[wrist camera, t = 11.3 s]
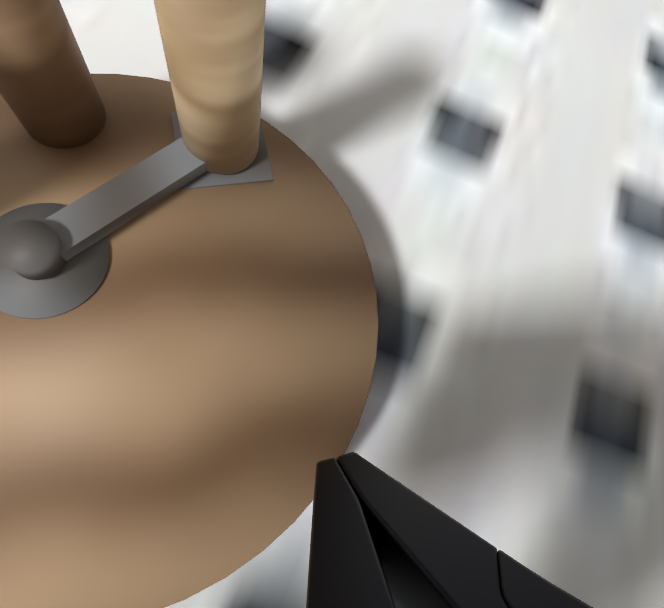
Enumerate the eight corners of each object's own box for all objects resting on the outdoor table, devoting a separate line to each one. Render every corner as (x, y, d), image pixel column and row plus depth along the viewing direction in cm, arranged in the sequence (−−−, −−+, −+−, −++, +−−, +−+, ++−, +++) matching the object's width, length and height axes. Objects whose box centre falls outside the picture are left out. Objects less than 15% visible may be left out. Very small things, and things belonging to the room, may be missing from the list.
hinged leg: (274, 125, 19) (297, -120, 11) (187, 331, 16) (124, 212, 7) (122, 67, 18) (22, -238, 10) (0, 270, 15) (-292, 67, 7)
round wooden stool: (414, 511, 18) (653, 612, 8) (-194, 696, 13) (-1904, 1699, 3) (309, 102, 23) (366, -186, 12) (-163, 131, 18) (-732, -300, 8)
